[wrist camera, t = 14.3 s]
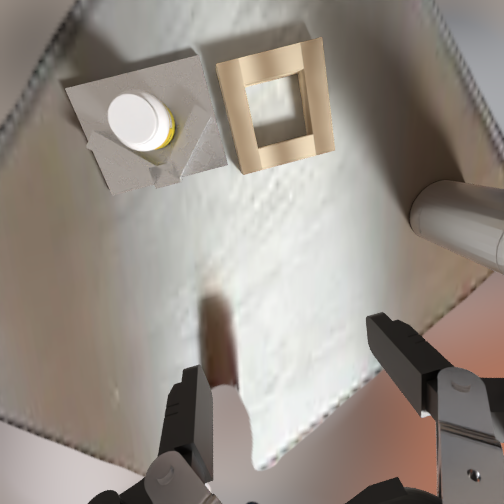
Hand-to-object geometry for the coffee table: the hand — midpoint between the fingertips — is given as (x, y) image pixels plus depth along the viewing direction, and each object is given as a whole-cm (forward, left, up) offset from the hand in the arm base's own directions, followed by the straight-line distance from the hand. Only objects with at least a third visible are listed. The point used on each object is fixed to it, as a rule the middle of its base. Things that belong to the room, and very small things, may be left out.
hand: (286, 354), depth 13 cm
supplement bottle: (+7, -13, -27) cm, 31 cm away
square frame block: (-8, -11, -28) cm, 31 cm away
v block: (+7, -13, -28) cm, 32 cm away
